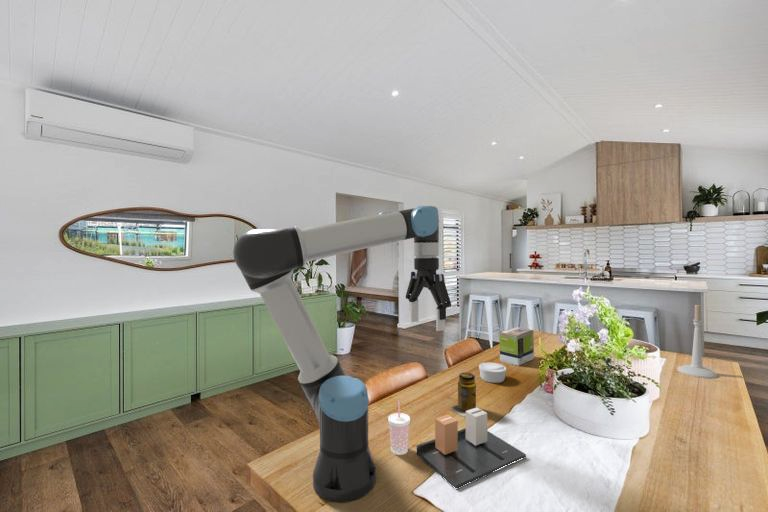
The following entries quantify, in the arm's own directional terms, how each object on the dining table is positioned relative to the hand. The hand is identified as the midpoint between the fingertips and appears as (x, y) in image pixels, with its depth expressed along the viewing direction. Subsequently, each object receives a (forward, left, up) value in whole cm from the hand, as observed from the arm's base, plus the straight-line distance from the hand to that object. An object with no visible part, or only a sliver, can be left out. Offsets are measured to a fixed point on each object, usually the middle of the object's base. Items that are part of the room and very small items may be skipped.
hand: (426, 325), depth 108 cm
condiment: (+18, +3, -32) cm, 37 cm away
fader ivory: (+6, -15, -30) cm, 34 cm away
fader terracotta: (-4, -14, -30) cm, 34 cm away
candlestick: (+128, -22, -32) cm, 134 cm away
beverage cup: (-14, -6, -32) cm, 35 cm away
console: (+1, -18, -32) cm, 36 cm away
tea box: (+75, +29, -32) cm, 87 cm away
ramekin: (+47, +18, -32) cm, 60 cm away
